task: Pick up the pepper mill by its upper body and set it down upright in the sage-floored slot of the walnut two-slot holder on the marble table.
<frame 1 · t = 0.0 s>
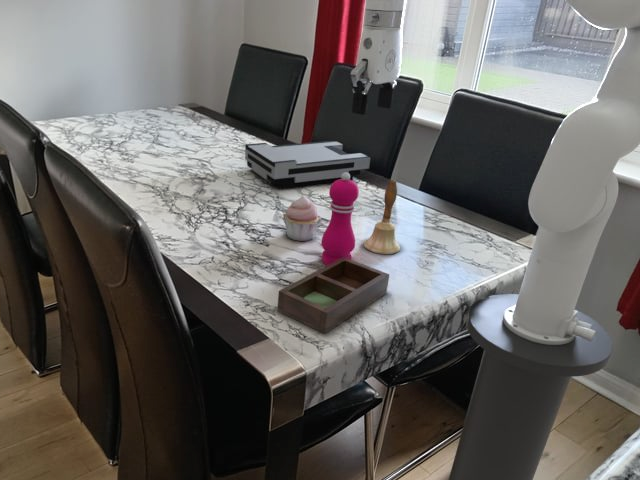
hand: (371, 110, 120), 30 cm above the table, tool pointing down, fingers open, 9 cm apart
hand bell: (381, 247, 134), on the table
pepper mill: (336, 262, 126), on the table
holder: (333, 302, 110), on the table
game console: (305, 175, 179), on the table
cupcake: (300, 236, 137), on the table
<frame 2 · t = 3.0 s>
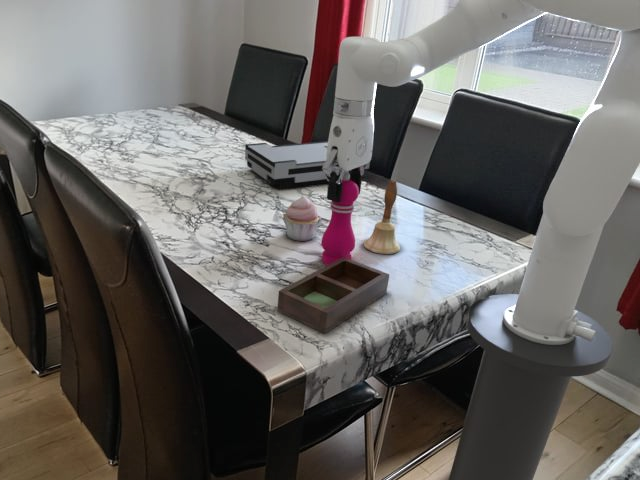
hand: (343, 196, 119), 15 cm above the table, tool pointing down, fingers closed on pepper mill, 6 cm apart
pepper mill: (336, 262, 126), on the table, touching gripper
everything else where it was.
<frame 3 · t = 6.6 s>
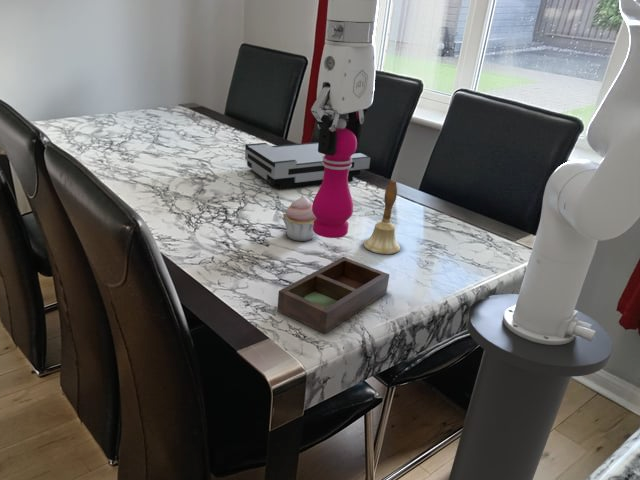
hand: (338, 149, 97), 29 cm above the table, tool pointing down, fingers closed on pepper mill, 6 cm apart
pepper mill: (330, 232, 104), point 14 cm above the table, touching gripper
everything else where it was.
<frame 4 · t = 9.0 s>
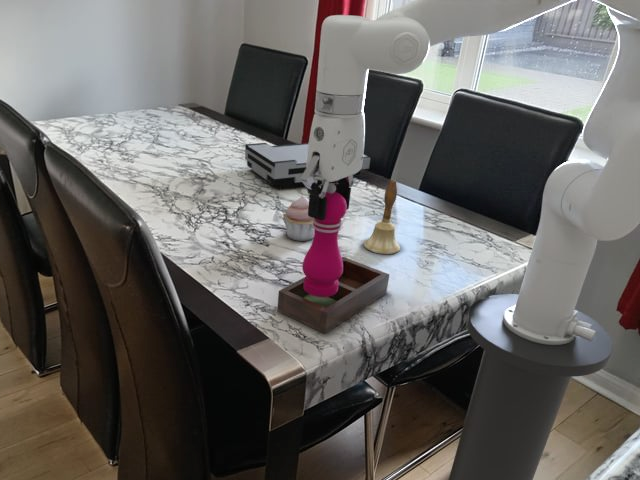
hand: (328, 212, 98), 20 cm above the table, tool pointing down, fingers closed on pepper mill, 6 cm apart
pepper mill: (320, 290, 105), point 5 cm above the table, touching gripper
everything else where it was.
when the fingers open (16 cm above the table, at t = 10.4 s): pepper mill stays where it is, resting on holder.
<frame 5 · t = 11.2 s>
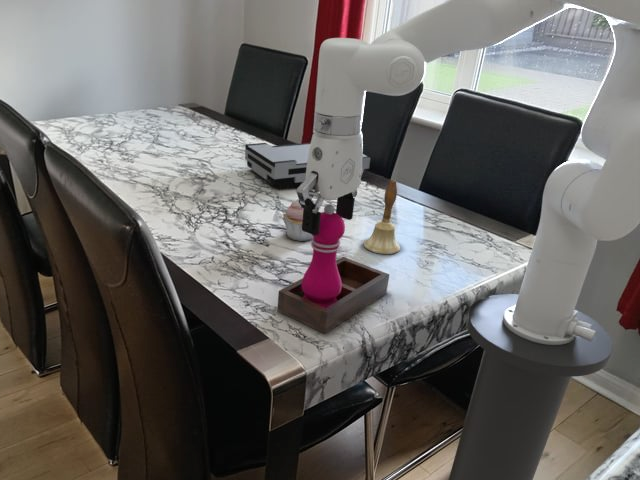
hand: (327, 224, 99), 17 cm above the table, tool pointing down, fingers open, 9 cm apart
pepper mill: (319, 307, 107), point 1 cm above the table, touching holder
everything else where it was.
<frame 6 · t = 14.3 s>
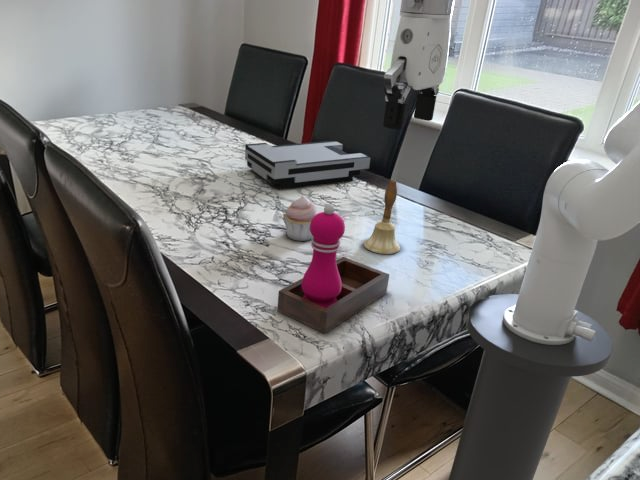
hand: (408, 123, 93), 34 cm above the table, tool pointing down, fingers open, 9 cm apart
nothing on the table moved.
at the end: pepper mill 0.0 cm from the target spot in the holder, point 0.8 cm above the holder's base; pepper mill tilted 0°; the gripper is holding nothing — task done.
